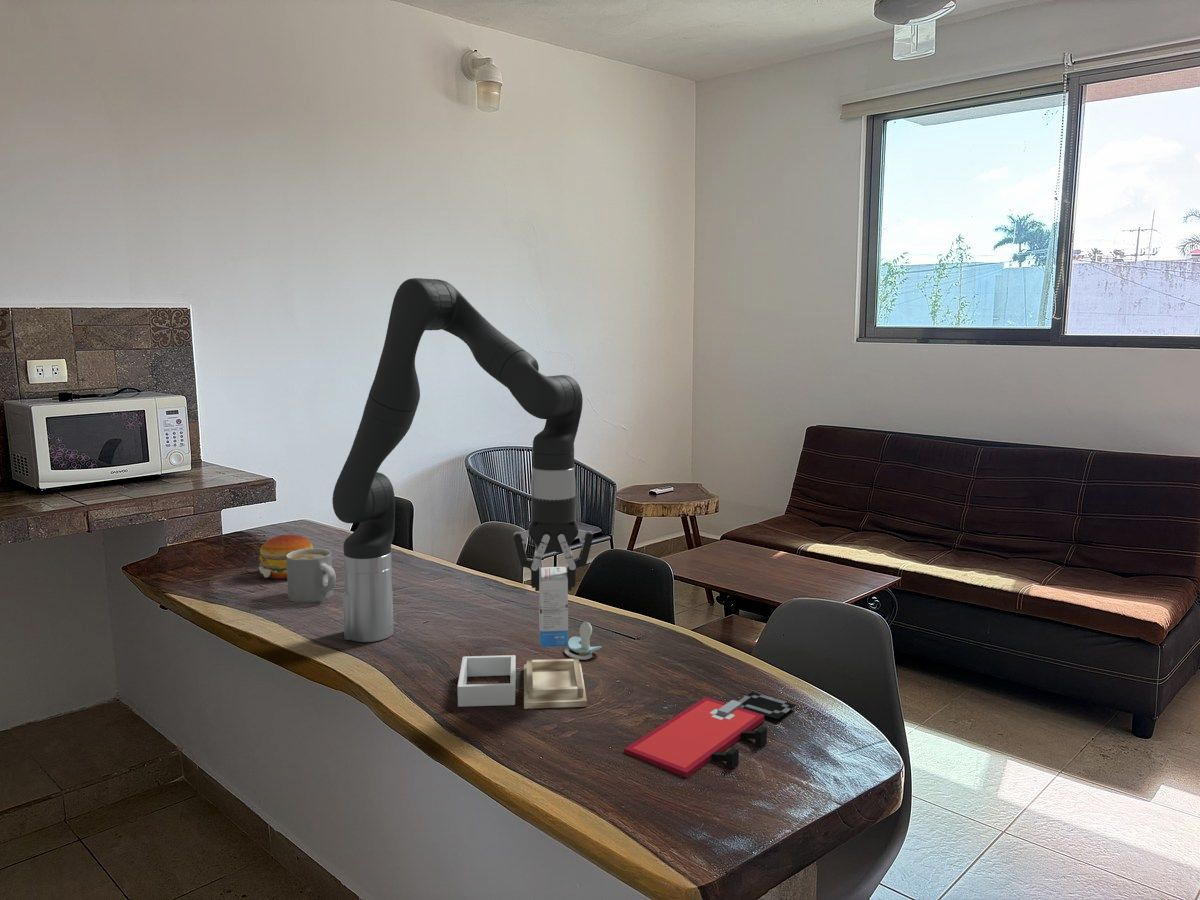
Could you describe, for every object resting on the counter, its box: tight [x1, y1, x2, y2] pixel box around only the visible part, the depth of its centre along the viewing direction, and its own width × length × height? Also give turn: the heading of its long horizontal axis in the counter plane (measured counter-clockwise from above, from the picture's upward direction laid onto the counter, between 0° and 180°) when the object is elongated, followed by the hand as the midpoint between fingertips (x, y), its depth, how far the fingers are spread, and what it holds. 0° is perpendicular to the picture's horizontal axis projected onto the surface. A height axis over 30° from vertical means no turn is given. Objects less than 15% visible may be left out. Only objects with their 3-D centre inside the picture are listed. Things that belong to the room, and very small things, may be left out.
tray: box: [523, 658, 588, 710], centre depth 151 cm, size 10×16×2 cm, turn 5°
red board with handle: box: [623, 691, 797, 779], centre depth 136 cm, size 30×3×15 cm
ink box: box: [538, 559, 569, 648], centre depth 149 cm, size 9×5×15 cm, turn 5°
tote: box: [457, 654, 517, 708], centre depth 150 cm, size 10×13×4 cm
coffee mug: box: [286, 547, 337, 603], centre depth 198 cm, size 13×10×10 cm
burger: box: [258, 533, 314, 579], centre depth 216 cm, size 14×14×10 cm
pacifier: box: [564, 621, 603, 661], centre depth 166 cm, size 7×6×6 cm
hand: (553, 589), depth 149 cm, fingers closed on ink box, 5 cm apart
